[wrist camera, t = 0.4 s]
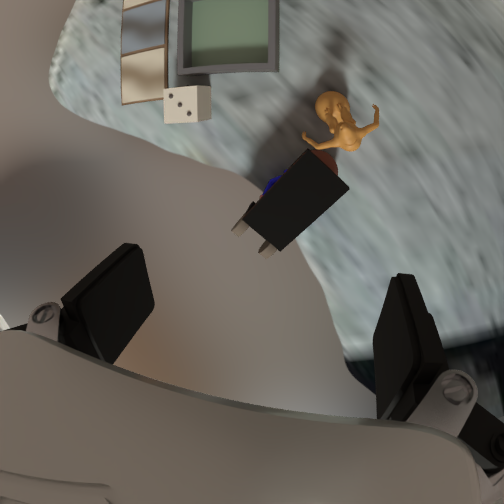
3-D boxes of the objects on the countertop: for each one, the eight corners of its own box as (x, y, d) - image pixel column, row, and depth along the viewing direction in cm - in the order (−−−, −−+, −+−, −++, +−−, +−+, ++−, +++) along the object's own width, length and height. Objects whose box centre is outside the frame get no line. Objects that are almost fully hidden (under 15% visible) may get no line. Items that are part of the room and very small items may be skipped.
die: (178, 87, 34) (159, 87, 30) (211, 84, 33) (195, 83, 29) (178, 120, 36) (161, 124, 32) (211, 119, 35) (196, 122, 31)
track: (127, -28, 24) (125, -29, 24) (172, -43, 23) (171, -44, 22) (123, 105, 36) (120, 105, 36) (168, 98, 35) (166, 98, 34)
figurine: (355, 81, 28) (370, 70, 18) (376, 125, 30) (399, 137, 20) (294, 106, 32) (279, 107, 22) (315, 149, 34) (311, 170, 24)
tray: (189, -1, 26) (179, -7, 24) (279, -10, 24) (275, -19, 22) (187, 76, 32) (177, 75, 30) (279, 72, 30) (274, 69, 28)
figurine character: (277, 240, 43) (351, 170, 34) (263, 271, 37) (352, 193, 28) (242, 210, 42) (311, 133, 33) (221, 237, 36) (302, 147, 27)
